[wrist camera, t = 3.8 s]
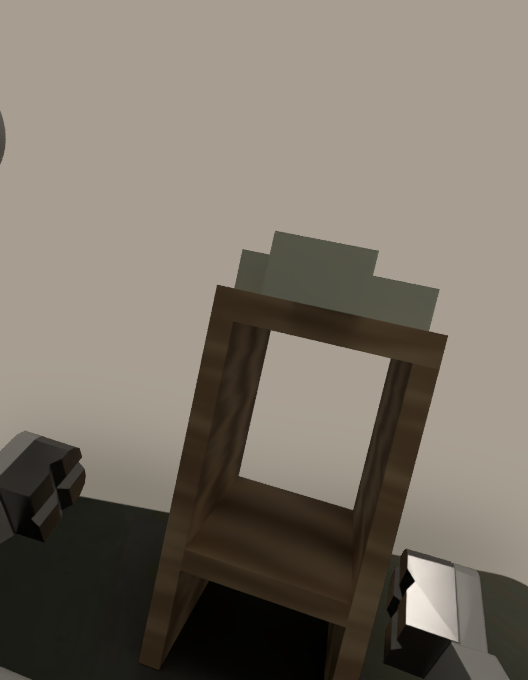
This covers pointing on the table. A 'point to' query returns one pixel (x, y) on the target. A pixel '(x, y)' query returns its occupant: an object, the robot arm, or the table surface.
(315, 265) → the grey paddle board
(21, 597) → the table surface
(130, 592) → the table surface
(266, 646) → the table surface
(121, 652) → the table surface
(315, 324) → the rack
